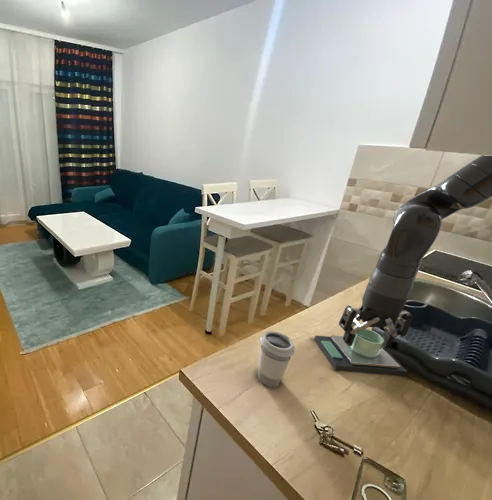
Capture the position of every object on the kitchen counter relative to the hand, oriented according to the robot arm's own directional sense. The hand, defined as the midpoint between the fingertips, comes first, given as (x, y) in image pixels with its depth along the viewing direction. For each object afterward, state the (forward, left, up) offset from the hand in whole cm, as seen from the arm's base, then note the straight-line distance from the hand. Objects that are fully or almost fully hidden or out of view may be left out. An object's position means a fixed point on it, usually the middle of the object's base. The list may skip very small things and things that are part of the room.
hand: (365, 345), depth 72 cm
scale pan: (0, 0, -2) cm, 2 cm away
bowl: (0, 0, -1) cm, 1 cm away
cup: (+26, +10, -5) cm, 28 cm away
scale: (+1, 0, -5) cm, 5 cm away
